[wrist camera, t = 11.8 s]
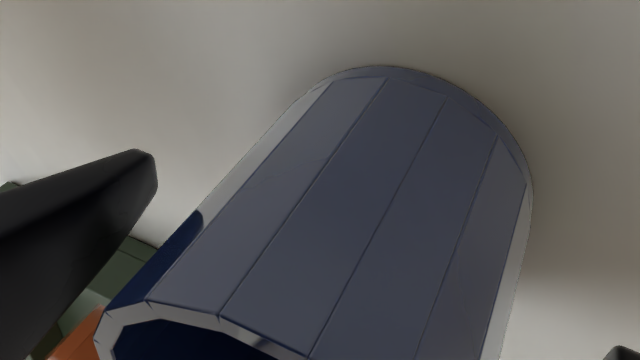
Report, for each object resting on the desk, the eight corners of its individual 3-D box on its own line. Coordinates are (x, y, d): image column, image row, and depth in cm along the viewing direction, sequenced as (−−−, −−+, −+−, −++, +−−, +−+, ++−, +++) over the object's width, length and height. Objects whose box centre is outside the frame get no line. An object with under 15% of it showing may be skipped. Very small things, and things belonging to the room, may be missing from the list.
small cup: (278, 222, 14) (124, 434, 10) (291, 29, 11) (56, 237, 6) (485, 307, 13) (404, 592, 9) (581, 120, 9) (522, 459, 5)
